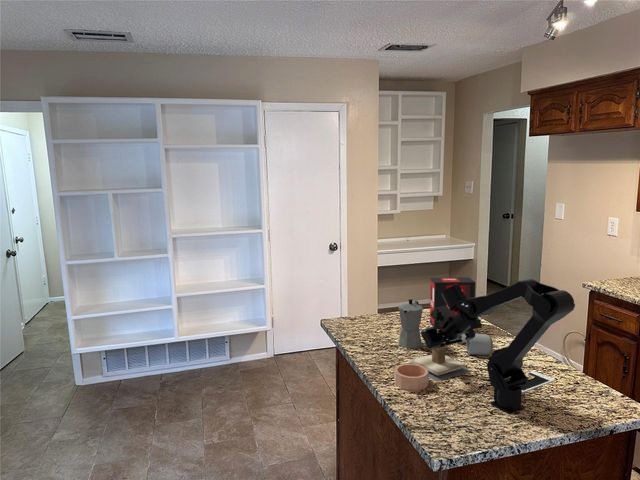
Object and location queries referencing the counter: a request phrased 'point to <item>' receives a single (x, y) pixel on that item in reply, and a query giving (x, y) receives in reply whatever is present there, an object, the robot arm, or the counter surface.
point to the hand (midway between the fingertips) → (435, 345)
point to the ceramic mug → (480, 345)
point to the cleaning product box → (442, 284)
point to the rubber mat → (447, 374)
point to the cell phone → (536, 381)
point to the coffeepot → (410, 324)
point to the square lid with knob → (439, 362)
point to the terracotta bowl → (411, 377)
